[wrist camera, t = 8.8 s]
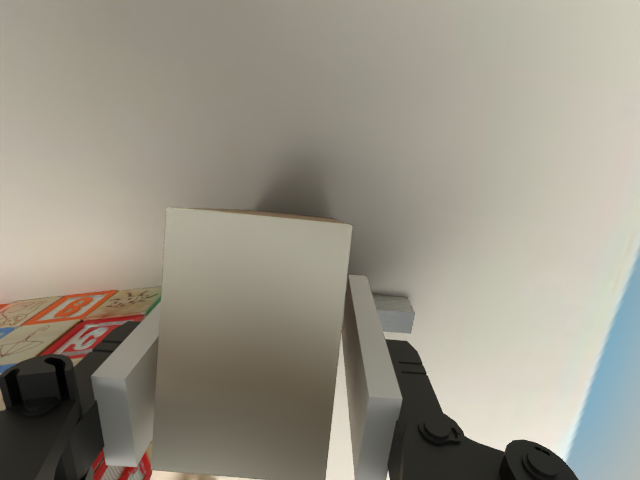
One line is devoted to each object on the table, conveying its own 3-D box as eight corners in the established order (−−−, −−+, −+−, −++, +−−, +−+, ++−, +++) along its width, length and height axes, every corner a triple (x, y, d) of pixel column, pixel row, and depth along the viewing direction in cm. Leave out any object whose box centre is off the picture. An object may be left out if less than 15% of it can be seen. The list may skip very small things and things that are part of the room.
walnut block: (250, 210, 16) (167, 207, 7) (332, 218, 16) (352, 225, 7) (240, 330, 17) (150, 470, 8) (320, 337, 17) (324, 484, 8)
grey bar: (204, 281, 18) (193, 295, 16) (407, 297, 18) (415, 312, 17) (205, 300, 18) (194, 316, 17) (403, 316, 18) (410, 333, 17)
